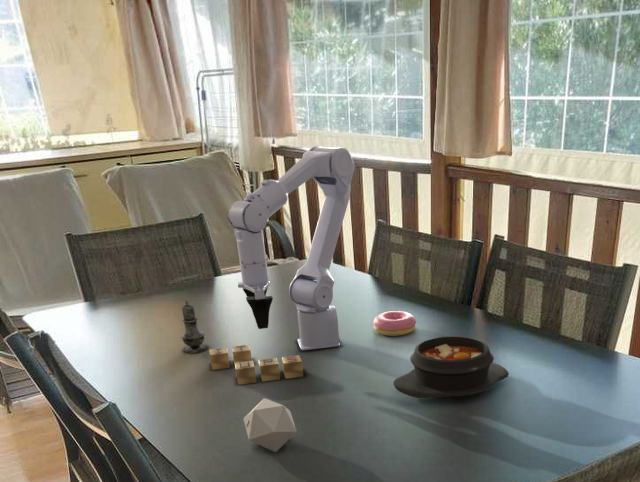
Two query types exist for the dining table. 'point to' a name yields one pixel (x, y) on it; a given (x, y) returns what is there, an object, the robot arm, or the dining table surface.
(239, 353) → the tile
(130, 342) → the dining table surface
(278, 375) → the tile
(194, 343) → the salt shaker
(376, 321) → the doughnut
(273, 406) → the die
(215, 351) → the tile
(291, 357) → the tile
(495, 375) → the casserole
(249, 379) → the tile
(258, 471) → the dining table surface
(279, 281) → the dining table surface
